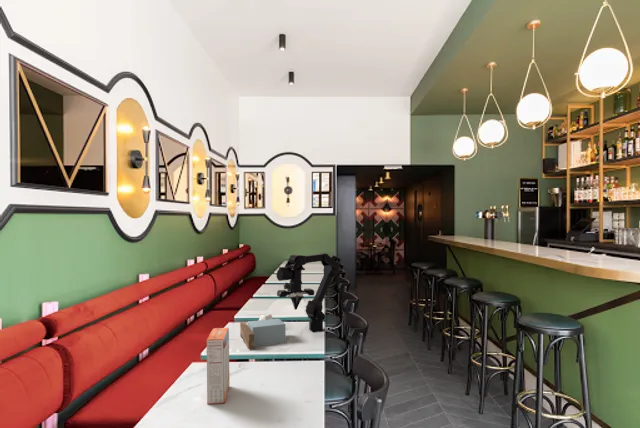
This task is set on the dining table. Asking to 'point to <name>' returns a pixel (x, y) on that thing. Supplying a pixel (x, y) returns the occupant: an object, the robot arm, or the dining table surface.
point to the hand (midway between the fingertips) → (295, 309)
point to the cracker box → (217, 365)
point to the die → (265, 317)
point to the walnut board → (247, 335)
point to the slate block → (268, 331)
